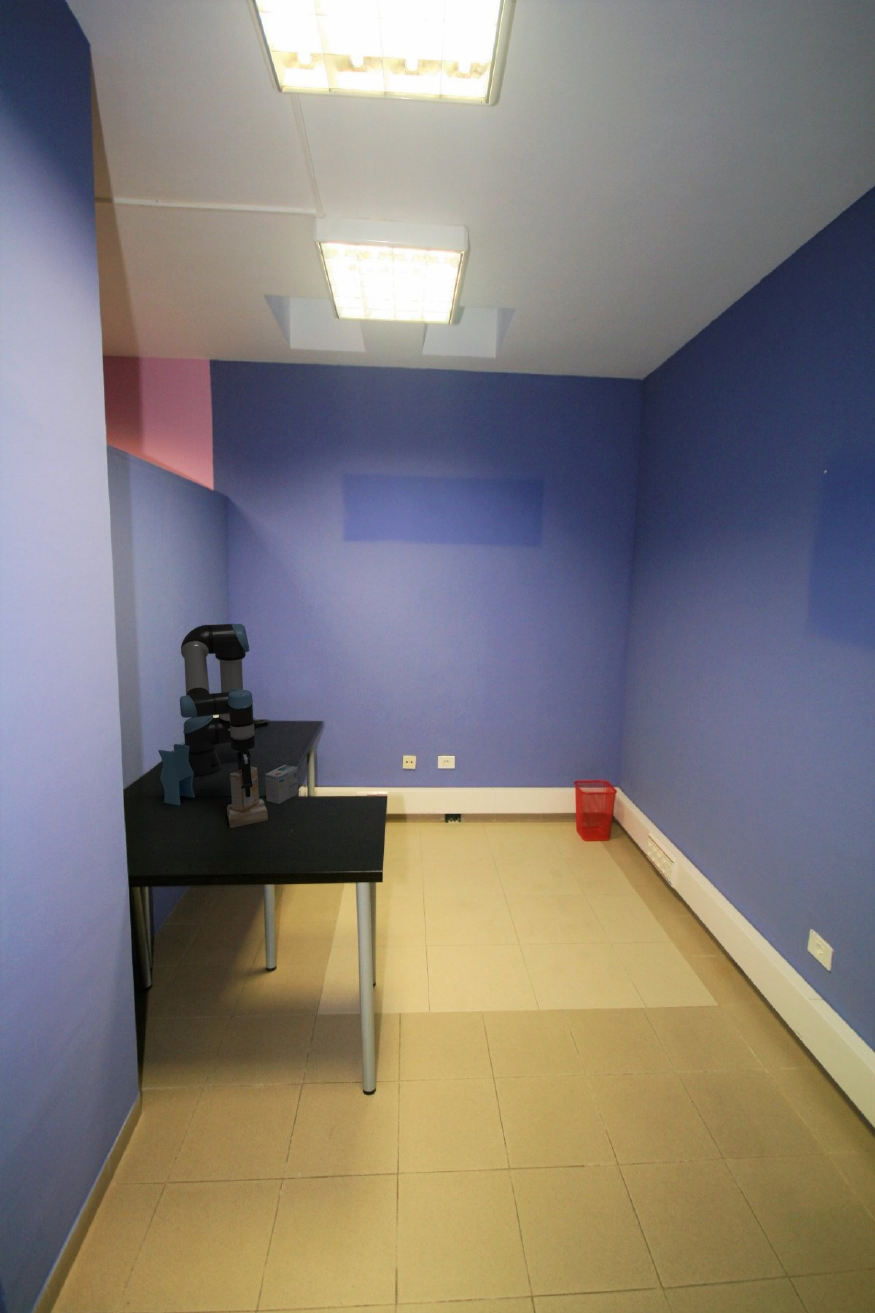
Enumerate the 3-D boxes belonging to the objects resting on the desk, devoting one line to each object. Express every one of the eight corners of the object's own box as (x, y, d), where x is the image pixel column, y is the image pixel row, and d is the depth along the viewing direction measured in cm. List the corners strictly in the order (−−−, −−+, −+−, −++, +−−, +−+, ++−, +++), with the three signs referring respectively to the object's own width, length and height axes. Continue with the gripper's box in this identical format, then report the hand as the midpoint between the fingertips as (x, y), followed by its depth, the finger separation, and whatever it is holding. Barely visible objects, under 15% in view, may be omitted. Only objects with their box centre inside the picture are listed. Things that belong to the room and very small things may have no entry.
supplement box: (243, 812, 174) (240, 775, 172) (232, 810, 176) (229, 773, 174) (260, 802, 182) (257, 767, 180) (249, 800, 183) (246, 765, 181)
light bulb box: (285, 790, 202) (284, 764, 201) (299, 793, 199) (298, 766, 198) (265, 801, 193) (264, 773, 191) (279, 804, 190) (278, 776, 188)
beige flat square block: (227, 815, 181) (226, 804, 180) (263, 808, 186) (262, 798, 186) (230, 827, 172) (229, 816, 172) (267, 820, 178) (267, 809, 177)
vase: (179, 794, 199) (175, 743, 196) (195, 796, 196) (191, 746, 193) (162, 802, 192) (157, 750, 188) (178, 805, 189) (174, 752, 186)
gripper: (227, 729, 183) (231, 789, 186) (234, 747, 163) (238, 814, 167) (250, 726, 186) (253, 785, 190) (259, 744, 167) (262, 810, 170)
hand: (246, 799), depth 178 cm, fingers open, 10 cm apart
